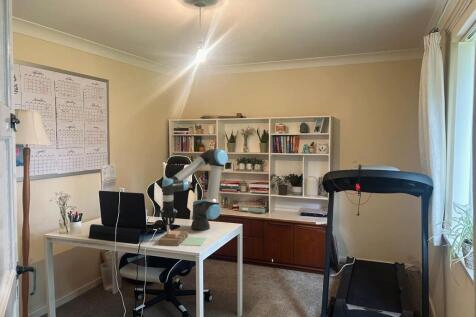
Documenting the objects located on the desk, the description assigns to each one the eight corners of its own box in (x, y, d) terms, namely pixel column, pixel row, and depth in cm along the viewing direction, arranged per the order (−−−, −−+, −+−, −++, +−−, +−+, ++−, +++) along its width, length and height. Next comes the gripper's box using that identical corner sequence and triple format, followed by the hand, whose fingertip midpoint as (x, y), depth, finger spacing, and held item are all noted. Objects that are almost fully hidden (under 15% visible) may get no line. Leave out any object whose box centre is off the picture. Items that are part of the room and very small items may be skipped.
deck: (169, 236, 258) (169, 230, 258) (187, 236, 256) (187, 231, 256) (158, 245, 237) (158, 239, 237) (178, 245, 235) (178, 240, 234)
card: (171, 233, 251) (171, 230, 251) (179, 233, 250) (179, 230, 250) (167, 236, 242) (167, 234, 242) (175, 237, 241) (175, 234, 241)
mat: (188, 237, 254) (188, 237, 254) (207, 238, 252) (207, 237, 252) (180, 245, 237) (180, 244, 236) (200, 245, 234) (200, 245, 234)
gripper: (157, 201, 243) (158, 234, 244) (175, 201, 241) (175, 235, 242) (161, 199, 250) (162, 231, 252) (178, 199, 248) (179, 232, 250)
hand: (168, 233), depth 247 cm, fingers closed
